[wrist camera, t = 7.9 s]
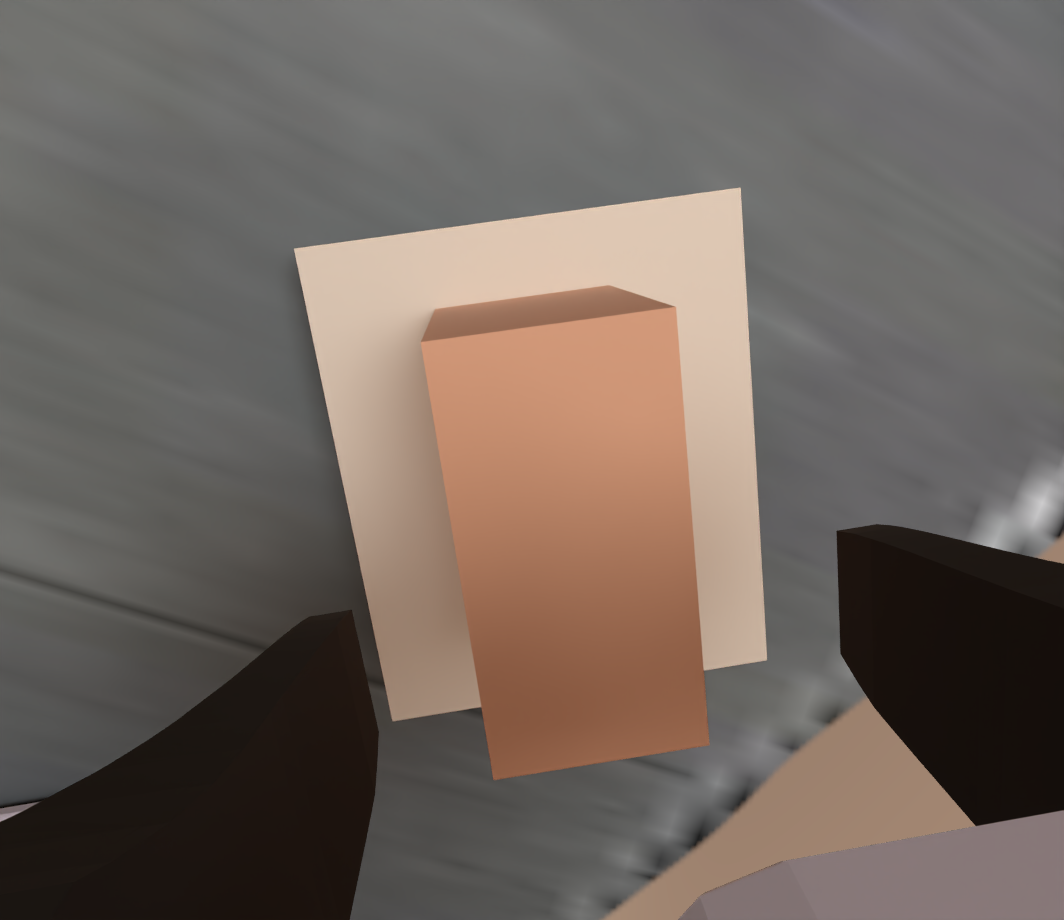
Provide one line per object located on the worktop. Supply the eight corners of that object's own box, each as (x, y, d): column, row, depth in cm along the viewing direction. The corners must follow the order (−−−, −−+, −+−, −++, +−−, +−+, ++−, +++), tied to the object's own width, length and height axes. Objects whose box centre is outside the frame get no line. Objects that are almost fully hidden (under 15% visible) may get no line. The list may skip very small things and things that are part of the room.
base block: (730, 609, 24) (766, 660, 21) (401, 662, 24) (392, 721, 21) (702, 195, 21) (740, 187, 18) (318, 247, 20) (294, 248, 17)
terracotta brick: (640, 601, 20) (709, 744, 15) (485, 625, 20) (493, 780, 14) (609, 285, 18) (676, 307, 12) (435, 308, 18) (420, 342, 12)
